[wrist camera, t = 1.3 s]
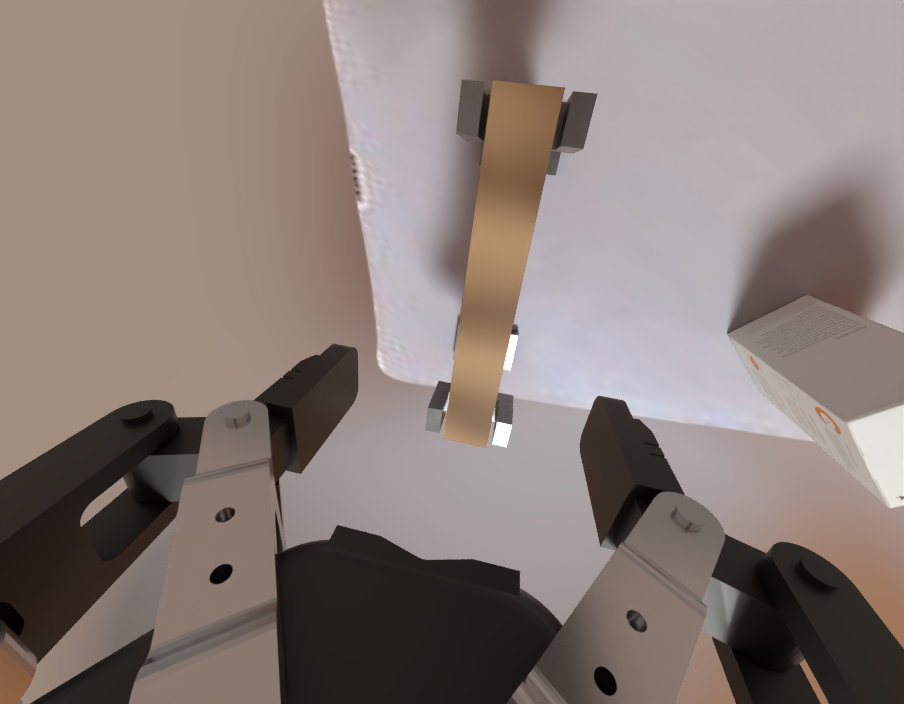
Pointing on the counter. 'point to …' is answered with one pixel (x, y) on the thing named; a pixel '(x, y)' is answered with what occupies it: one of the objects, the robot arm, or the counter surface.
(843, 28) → the counter surface
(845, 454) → the small box
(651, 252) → the counter surface
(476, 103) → the grey support rack
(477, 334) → the tan wooden bar
